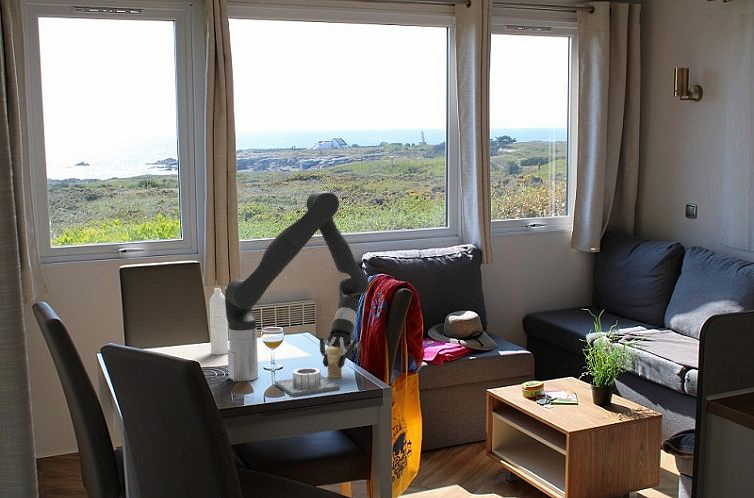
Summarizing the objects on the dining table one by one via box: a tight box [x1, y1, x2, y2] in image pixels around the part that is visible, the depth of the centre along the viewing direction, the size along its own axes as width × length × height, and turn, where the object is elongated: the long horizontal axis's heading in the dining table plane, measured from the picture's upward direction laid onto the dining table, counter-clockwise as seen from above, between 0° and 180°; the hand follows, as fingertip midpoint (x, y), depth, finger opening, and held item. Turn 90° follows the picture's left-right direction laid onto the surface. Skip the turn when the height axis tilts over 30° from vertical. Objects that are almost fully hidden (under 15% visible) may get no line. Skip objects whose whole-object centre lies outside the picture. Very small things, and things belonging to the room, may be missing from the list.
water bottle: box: [208, 286, 230, 356], centre depth 329 cm, size 9×6×25 cm
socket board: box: [274, 367, 341, 397], centre depth 280 cm, size 16×16×5 cm
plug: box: [326, 346, 343, 380], centre depth 292 cm, size 5×5×10 cm
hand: (332, 366), depth 290 cm, fingers closed on plug, 4 cm apart
